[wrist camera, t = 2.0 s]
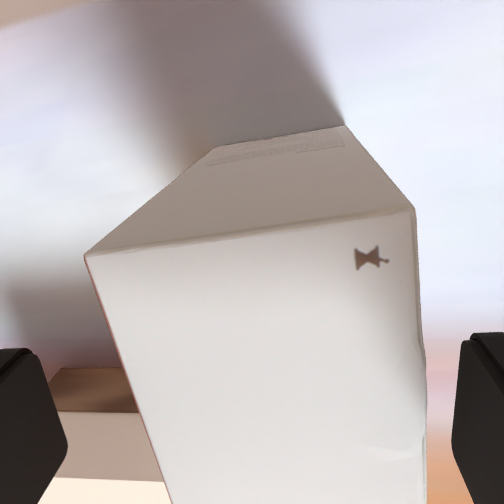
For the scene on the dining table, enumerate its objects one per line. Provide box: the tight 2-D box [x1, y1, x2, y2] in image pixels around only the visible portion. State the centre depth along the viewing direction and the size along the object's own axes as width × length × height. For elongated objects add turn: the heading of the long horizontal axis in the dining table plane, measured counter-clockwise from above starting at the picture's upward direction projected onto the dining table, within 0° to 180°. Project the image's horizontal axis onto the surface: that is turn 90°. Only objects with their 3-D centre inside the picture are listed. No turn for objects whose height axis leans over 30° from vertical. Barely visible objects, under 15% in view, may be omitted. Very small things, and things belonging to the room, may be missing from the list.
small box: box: [84, 125, 427, 504], centre depth 15 cm, size 8×6×13 cm
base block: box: [48, 368, 139, 413], centre depth 26 cm, size 12×12×4 cm
